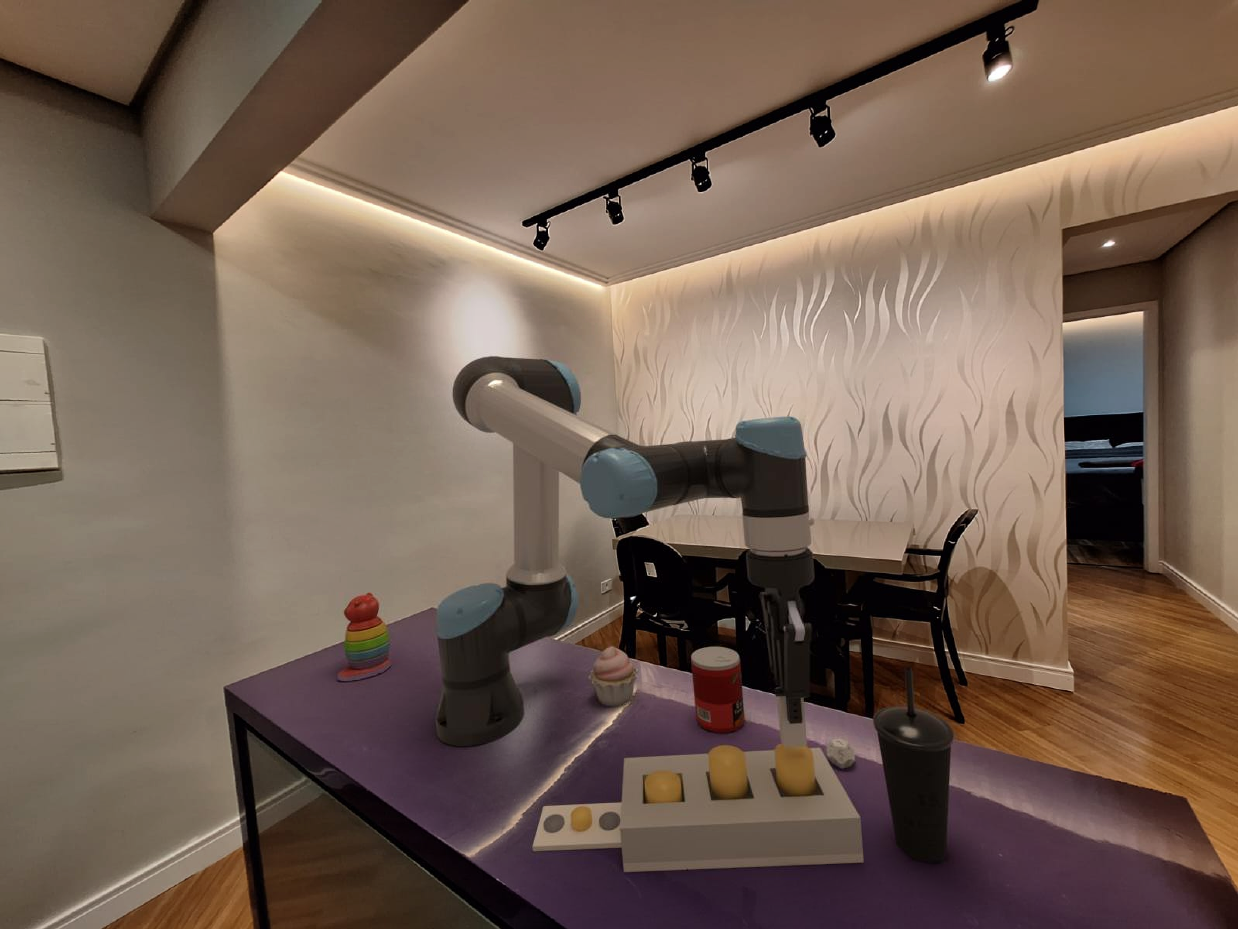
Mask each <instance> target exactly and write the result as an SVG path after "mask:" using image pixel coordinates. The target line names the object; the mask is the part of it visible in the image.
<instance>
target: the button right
mask: <svg viewBox="0 0 1238 929" xmlns="http://www.w3.org/2000/svg"><path fill="white" fill-rule="evenodd" d="M809 748H810V747H808V745H807V746H800V747H784V746H783V744H782V742H781V743H779V744H777V745H776V746H775V748H774V750H775V763H776V776H777V786H778V788H779V789H780V790H781V791H782V792H783V793H784V794H786V795H788V796H790V797H798V796H812V795H813V794H814V793H815V791H816V784H815V771H814V757H813V752H812V751H811V750H810V749H809Z"/></svg>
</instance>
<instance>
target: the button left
mask: <svg viewBox="0 0 1238 929" xmlns="http://www.w3.org/2000/svg"><path fill="white" fill-rule="evenodd" d="M645 793H646V804H652V803H673V802H682V792H681V781H680V778H679V776H678V775H677V774H676V773H674V772H672V771H668V770H658V771H655V772H652V773H651V774H649V775H648V776H647V777H646V779H645Z"/></svg>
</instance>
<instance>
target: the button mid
mask: <svg viewBox="0 0 1238 929" xmlns="http://www.w3.org/2000/svg"><path fill="white" fill-rule="evenodd" d="M743 752H744V751H742V750H741V749H740V748H739V747H736V746H733V745H728V744H727V745H726V744H723V745H722V744H721V745H718V746H715V747H712V749H710V750H709V752H708V753H707V754H708V759H709V771H710V783H711V791H712V793H713V794H714V795H715V796H716V797H717V798H718V799H720V800H736V799H743V798H745V797H746V795H747V793H748V784H747V771H746V759H745V754H744V753H743Z"/></svg>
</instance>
